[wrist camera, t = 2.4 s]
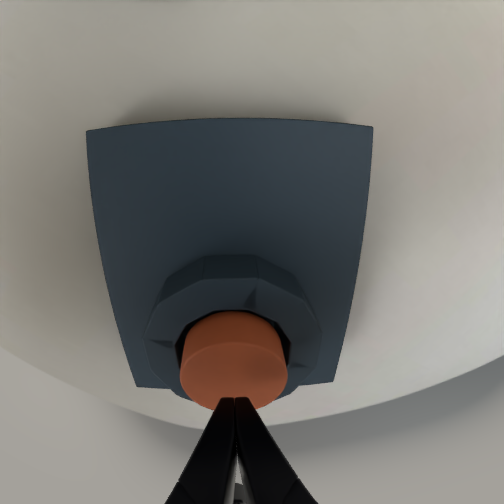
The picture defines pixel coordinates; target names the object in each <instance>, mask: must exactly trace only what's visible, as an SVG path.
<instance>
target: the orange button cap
mask: <svg viewBox="0 0 504 504" xmlns="http://www.w3.org/2000/svg"><path fill="white" fill-rule="evenodd" d="M287 379H288V373H287V368H286V363H285V359H284V354H283V350H282V345H281V341H280V338H279V335H278V333H277V331H276V330H275V329H274V327H273V326H272V325H271V324H270V323H268V322H267V321H266V320H264V319H263V318H261V317H259V316H257V315H254V314H251V313H247V312H242V311H224V312H218V313H215V314H211V315H209V316H207V317H205V318H203V319H201V320H200V321H199V322H197V323H196V324H195V325H194V326H193V327H192V328H191V329H190V331H189V332H188V334H187V336H186V339H185V344H184V350H183V356H182V362H181V369H180V382H181V385H182V387H183V389H184V391H185V393H186V394H187V395H188V396H189V397H190V398H191V399H192V400H193V401H195V402H196V403H198V404H199V405H201V406H203V407H206V408H208V409H211V410H215V408H216V406H217V404H218V402H219V400H220V398H222V397H233V398H234V402H235V397H248V398H249V399H250V401H251V403H252V404H253V406H254V408H255V409H258V408H261V407H263V406H265V405H267V404H269V403H271V402H272V401H274V400H275V399H276V398H277V397H278V396H279V395H280V394H281V393H282V391H283V390H284V388H285V386H286V383H287Z"/></svg>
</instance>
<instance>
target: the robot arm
mask: <svg viewBox="0 0 504 504" xmlns="http://www.w3.org/2000/svg"><path fill="white" fill-rule="evenodd" d="M236 442H237V443H236ZM237 456H238V463H239V468H240V473H241V477H242V483H243V487H244V492H245V496H246V501H247V504H318V503H317V502H316V501H315V499H314V498H313V497H312V496H311V494H310V493H309V492H308V490H307V489H306V488H305V486H304V485H303V483H302V482H301V480H300V479H299V478H298V476H297V475H296V473H295V472H294V470H293V469H292V467H291V465H290V464H289V462H288V461H287V459H286V458H285V456H284V455H283V453H282V452H281V450H280V448H279V447H278V445H277V444H276V442H275V441H274V439H273V437H272V436H271V434H270V433H269V431H268V430H267V428H266V426H265V424H264V423H263V421H262V420H261V418H260V416H259V415H258V413H257V411H256V410H255V408H254V406H253V404H252V403H251V401H250V399H249V398H248V397H235V402H234V398H233V397H222V398H220V400H219V402H218V404H217V406H216V408H215V410H214V412H213V414H212V416H211V418H210V420H209V422H208V424H207V426H206V428H205V430H204V432H203V434H202V436H201V438H200V440H199V441H198V444H197V446H196V447H195V449H194V451H193V453H192V455H191V457H190V459H189V461H188V463H187V465H186V466H185V468H184V470H183V472H182V474H181V476H180V478H179V482H177V483H176V485H175V487H174V489H173V491H172V492H171V494H170V495H169V497H168V499H167V501H166V502H165V504H244V500H233V498H234V488H235V477H236V476H235V475H236V466H237Z"/></svg>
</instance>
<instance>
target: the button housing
mask: <svg viewBox="0 0 504 504" xmlns="http://www.w3.org/2000/svg"><path fill="white" fill-rule="evenodd" d="M86 143H87V158H88V170H89V180H90V189H91V198H92V205H93V213H94V220H95V226H96V232H97V238H98V244H99V249H100V255H101V260H102V265H103V270H104V274H105V279H106V283H107V288H108V292H109V296H110V300H111V304H112V308H113V312H114V316H115V320H116V323H117V327H118V330H119V334H120V337H121V341H122V344H123V347H124V350H125V354H126V357H127V360H128V363H129V366H130V369H131V372H132V375H133V378H134V381H135V384H136V386H137V387H145V388H161V389H171V390H172V391H173V392H174V393H175V394H176V395H179V396H180V397H182V398H185V399H188V400H191V401H193V400H192V399H191V398H190V397H189V396H188V395H187V394H186V393H185V391H184V389H183V387H182V385H181V382H180V369H181V362H182V356H183V350H184V344H185V339H186V336H187V334H188V332H189V331H190V329H191V328H192V327H193V326H194V325H195V324H196V323H197V322H199V321H200V320H201V319H203V318H205V317H207V316H209V315H211V314H215V313H218V312H224V311H242V312H247V313H251V314H254V315H257V316H259V317H261V318H263V319H264V320H266V321H267V322H268V323H270V324H271V325H272V326H273V327H274V329H275V330H276V331H277V333H278V335H279V338H280V341H281V345H282V350H283V354H284V359H285V363H286V368H287V373H288V379H287V383H286V386H285V388H284V390H283V391H282V393H281V394H280V395H279V396H278V397H277V398H276V399H275V400H277V399H279V398H281V397H284V396H286V395H289V394H291V392H293V391H294V390H295V389H296V388H297V387H298V386H301V385H311V384H320V383H328V382H333V381H334V377H335V373H336V369H337V365H338V361H339V357H340V353H341V349H342V345H343V341H344V337H345V332H346V328H347V323H348V318H349V314H350V309H351V304H352V299H353V294H354V288H355V283H356V277H357V272H358V266H359V260H360V254H361V247H362V240H363V233H364V226H365V218H366V210H367V201H368V192H369V182H370V171H371V159H372V144H373V127H372V126H364V125H356V124H347V123H337V122H327V121H314V120H299V119H277V118H208V119H187V120H172V121H159V122H148V123H139V124H130V125H122V126H114V127H107V128H101V129H94V130H88V131H86ZM194 402H195V401H194Z"/></svg>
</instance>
